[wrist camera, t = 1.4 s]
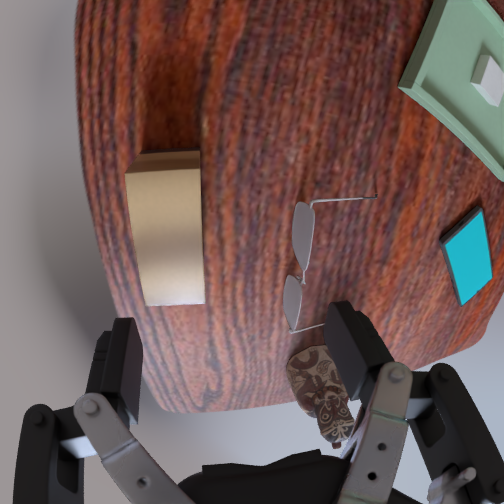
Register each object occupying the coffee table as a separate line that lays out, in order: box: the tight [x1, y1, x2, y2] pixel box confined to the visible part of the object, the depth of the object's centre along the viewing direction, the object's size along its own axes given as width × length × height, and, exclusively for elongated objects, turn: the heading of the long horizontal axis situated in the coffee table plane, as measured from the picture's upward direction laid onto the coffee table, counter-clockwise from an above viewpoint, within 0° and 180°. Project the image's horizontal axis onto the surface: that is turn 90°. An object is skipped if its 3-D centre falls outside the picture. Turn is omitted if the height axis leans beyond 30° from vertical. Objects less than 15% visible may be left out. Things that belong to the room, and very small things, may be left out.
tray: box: [397, 0, 504, 182], centre depth 21 cm, size 16×20×2 cm
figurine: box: [286, 345, 355, 449], centre depth 33 cm, size 7×7×12 cm
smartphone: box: [439, 205, 493, 307], centre depth 33 cm, size 7×1×15 cm
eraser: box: [125, 147, 206, 306], centre depth 22 cm, size 10×4×6 cm, turn 178°
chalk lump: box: [470, 55, 504, 107], centre depth 20 cm, size 4×4×2 cm
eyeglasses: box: [283, 194, 378, 334], centre depth 28 cm, size 14×8×4 cm, turn 177°
